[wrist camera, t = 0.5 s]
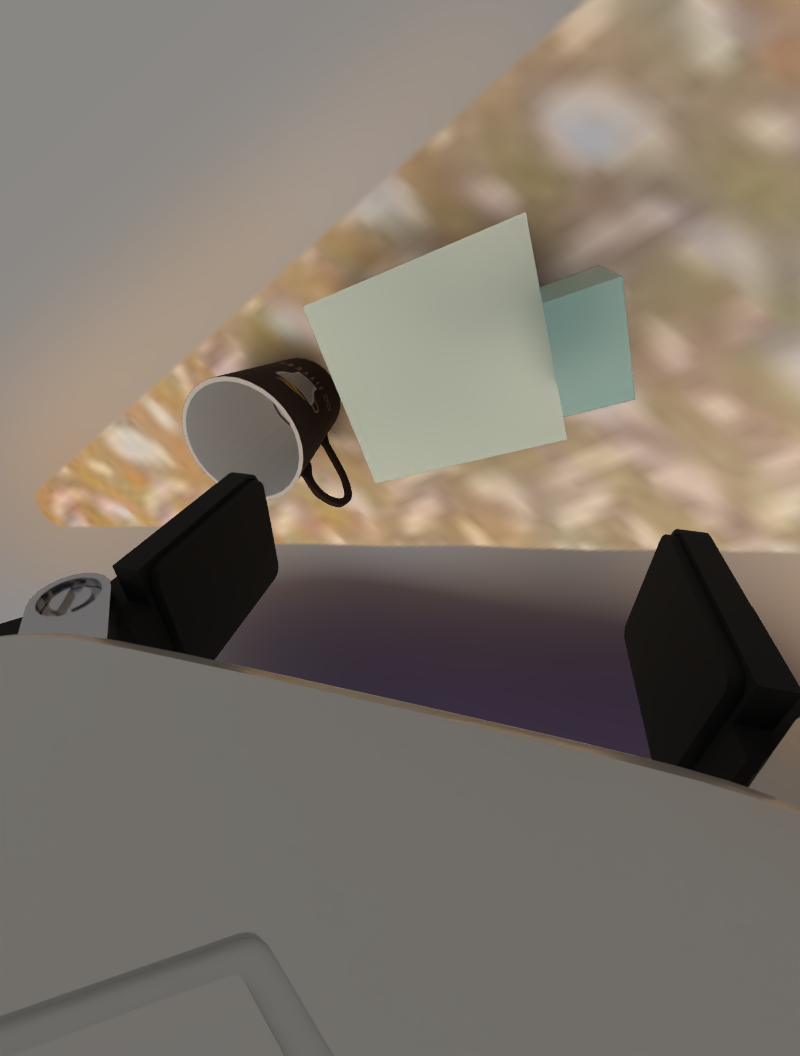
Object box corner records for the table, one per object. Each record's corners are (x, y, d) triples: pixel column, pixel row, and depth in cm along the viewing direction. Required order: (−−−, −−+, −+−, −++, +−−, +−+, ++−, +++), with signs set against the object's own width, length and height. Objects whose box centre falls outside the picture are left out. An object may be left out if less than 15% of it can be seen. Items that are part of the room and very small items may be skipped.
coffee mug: (238, 365, 37) (157, 401, 29) (323, 326, 34) (259, 355, 26) (303, 485, 42) (249, 544, 34) (383, 461, 39) (344, 521, 31)
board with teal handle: (380, 475, 33) (348, 526, 27) (310, 304, 27) (253, 322, 22) (618, 420, 27) (642, 470, 21) (589, 185, 21) (611, 168, 16)
